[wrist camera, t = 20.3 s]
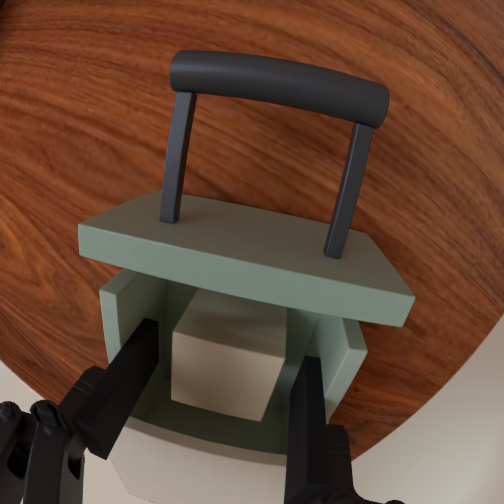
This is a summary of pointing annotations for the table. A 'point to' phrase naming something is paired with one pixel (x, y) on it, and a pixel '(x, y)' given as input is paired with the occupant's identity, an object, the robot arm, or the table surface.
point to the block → (228, 354)
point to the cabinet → (194, 468)
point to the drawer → (249, 250)
